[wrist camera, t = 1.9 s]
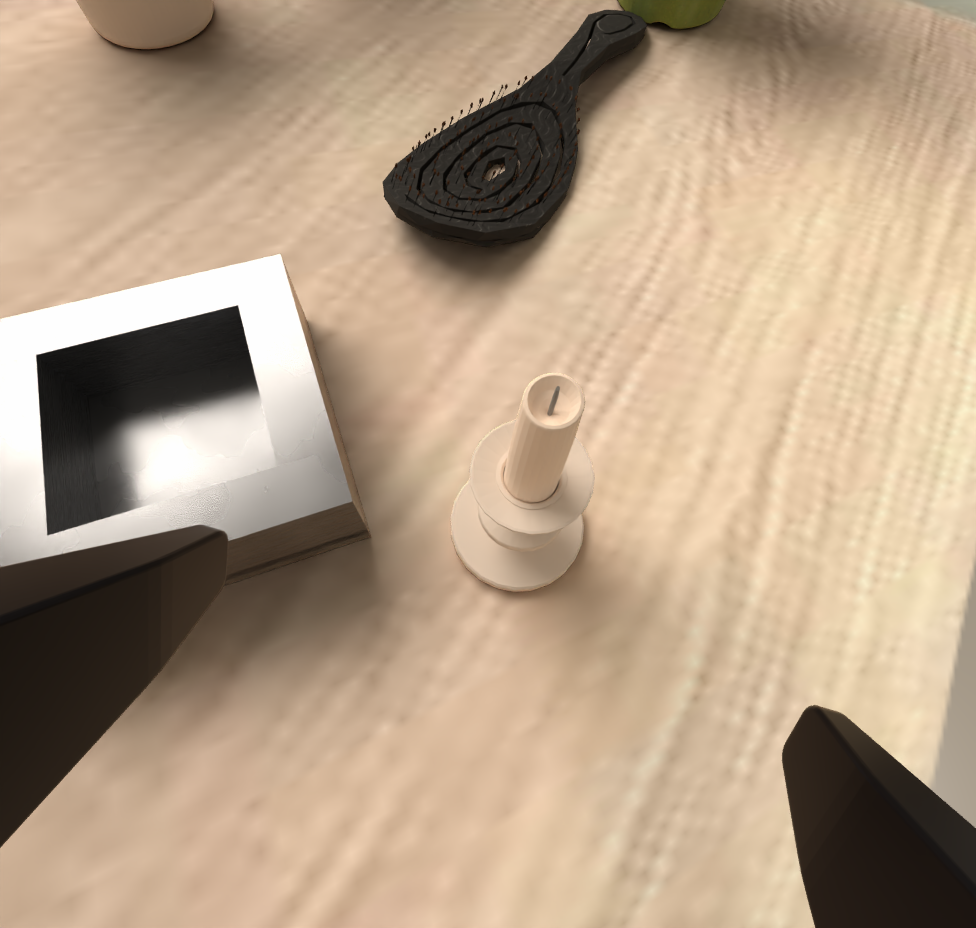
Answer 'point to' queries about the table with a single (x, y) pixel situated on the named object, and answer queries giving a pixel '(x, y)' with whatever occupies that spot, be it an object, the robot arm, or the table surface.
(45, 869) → the table surface
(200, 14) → the coffee cup
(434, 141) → the hairbrush
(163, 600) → the robot arm
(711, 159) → the table surface
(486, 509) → the candle
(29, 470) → the socket block
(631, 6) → the plant pot
